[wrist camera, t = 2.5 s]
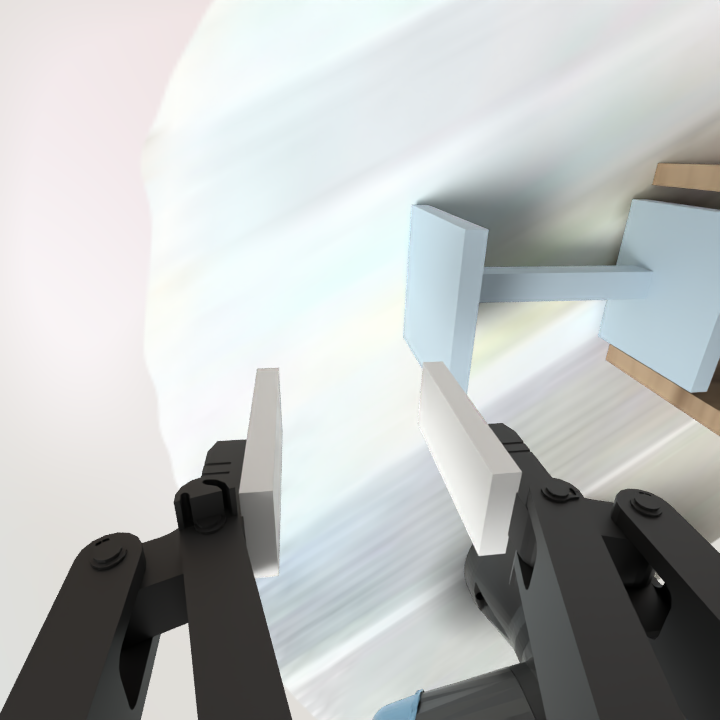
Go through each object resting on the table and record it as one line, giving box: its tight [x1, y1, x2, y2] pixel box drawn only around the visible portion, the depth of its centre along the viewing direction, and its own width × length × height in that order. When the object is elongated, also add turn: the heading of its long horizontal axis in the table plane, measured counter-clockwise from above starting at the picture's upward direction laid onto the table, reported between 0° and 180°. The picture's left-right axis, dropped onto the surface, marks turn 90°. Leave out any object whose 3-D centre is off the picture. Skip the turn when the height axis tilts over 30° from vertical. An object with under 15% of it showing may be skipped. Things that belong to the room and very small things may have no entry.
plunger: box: [403, 199, 720, 395], centre depth 31 cm, size 18×11×11 cm, turn 89°
